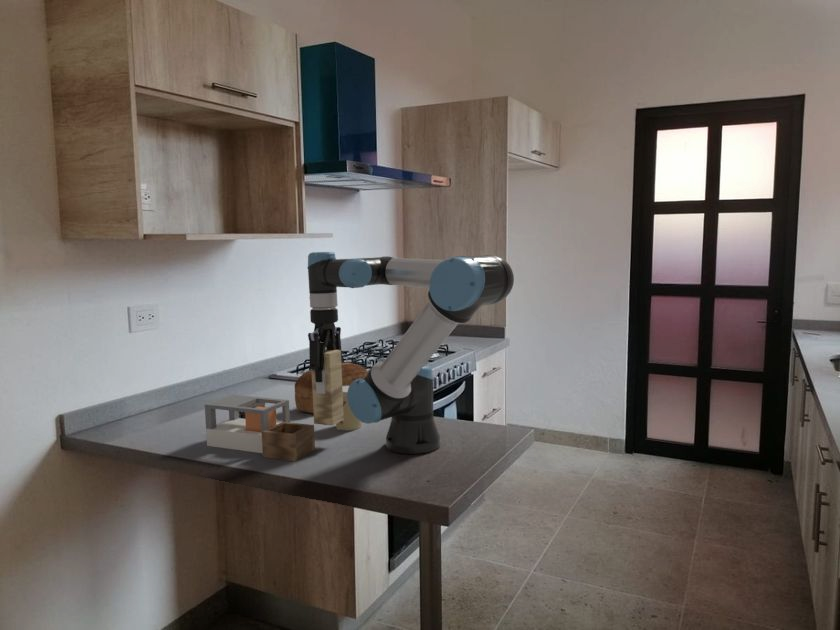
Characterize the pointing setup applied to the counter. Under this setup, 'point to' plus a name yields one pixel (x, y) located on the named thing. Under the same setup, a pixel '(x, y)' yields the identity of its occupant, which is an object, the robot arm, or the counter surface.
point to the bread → (305, 385)
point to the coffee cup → (348, 415)
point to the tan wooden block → (329, 391)
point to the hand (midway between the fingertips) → (327, 390)
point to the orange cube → (259, 420)
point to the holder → (288, 441)
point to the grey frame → (240, 422)
